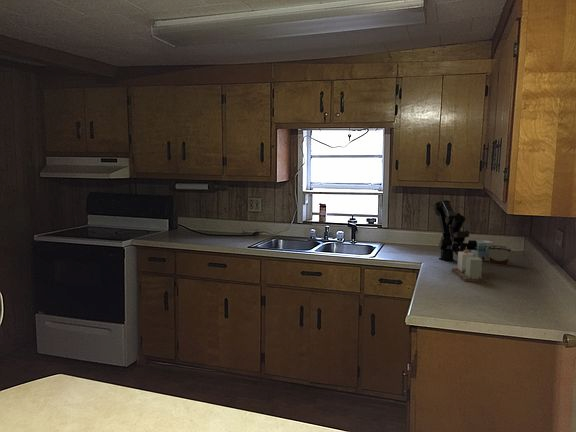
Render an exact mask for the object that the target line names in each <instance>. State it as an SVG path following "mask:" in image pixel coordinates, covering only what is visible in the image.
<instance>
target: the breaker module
mask: <svg viewBox="0 0 576 432" xmlns="http://www.w3.org/2000/svg"><path fill="white" fill-rule="evenodd" d="M473 256H474V255H473V254H472V253H471V251H469V250H468V249H467V250H466V249H465V250H464V251H463V252H458V256H457V266H456V268H457V269H459V270H460V271H461V272H463V270H466V259H467V257H473Z"/></svg>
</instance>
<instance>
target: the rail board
mask: <svg viewBox="0 0 576 432" xmlns="http://www.w3.org/2000/svg"><path fill="white" fill-rule="evenodd" d="M451 272H452V273H453V274H455V275H456V276H457V277H459V279H461V280H462V281H463V282H467V283H468V282H471V283H473V282H474V283H475V282H476V283H479V282H480V283H486V280H487V278H485V277H484V276H482V275H481V278H479V277H471V278H469V277H468V276H466V275H465V274H466V270H463V272H461V271H460V270H459V269H457V267H452V268H451Z"/></svg>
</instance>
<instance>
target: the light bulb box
mask: <svg viewBox="0 0 576 432" xmlns="http://www.w3.org/2000/svg"><path fill="white" fill-rule="evenodd" d="M476 241H477V246H476V248H475V250H470V253H472V254H473V255H474V256H473V257H478V258H480V259H482V262H485V261H486V262H487V261H488V262H489V249H488V247H489V246H491V245H495V243H494V242H493V241H491V240H490V241H489V240H476Z"/></svg>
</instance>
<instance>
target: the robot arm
mask: <svg viewBox="0 0 576 432" xmlns="http://www.w3.org/2000/svg"><path fill="white" fill-rule="evenodd" d="M433 210H434V212H435V215H436V216H438V217H439V223H440V228H441V235H442V236H441V239H440V240H439V244H438V249H439V250H440V257H439V258H438V259H439V260H441V261H445V262H448V261H451V262H452V261H455V258H454V254H455V255H456V256H457V257H458V252H464V250H466V249H467V250H468V251H471V250H475V248H476V246H477V241H478V240H473V239H472V240H471V239H470V240H468V241H467V242H465V241H466V240H465V239H466V238H469V237H470V231H469V230H464V231H462V230H461V229H462V228H463V226H464V224H465V222H466V217H465V216H464V215H462V214H461V213H460V212H455V210H454V209H453V206H452V205H451V201H450V200H448V199H447V200H446V199H445V200H443V199H442V200H440V201H437V202H435V203H434V204H433Z"/></svg>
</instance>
